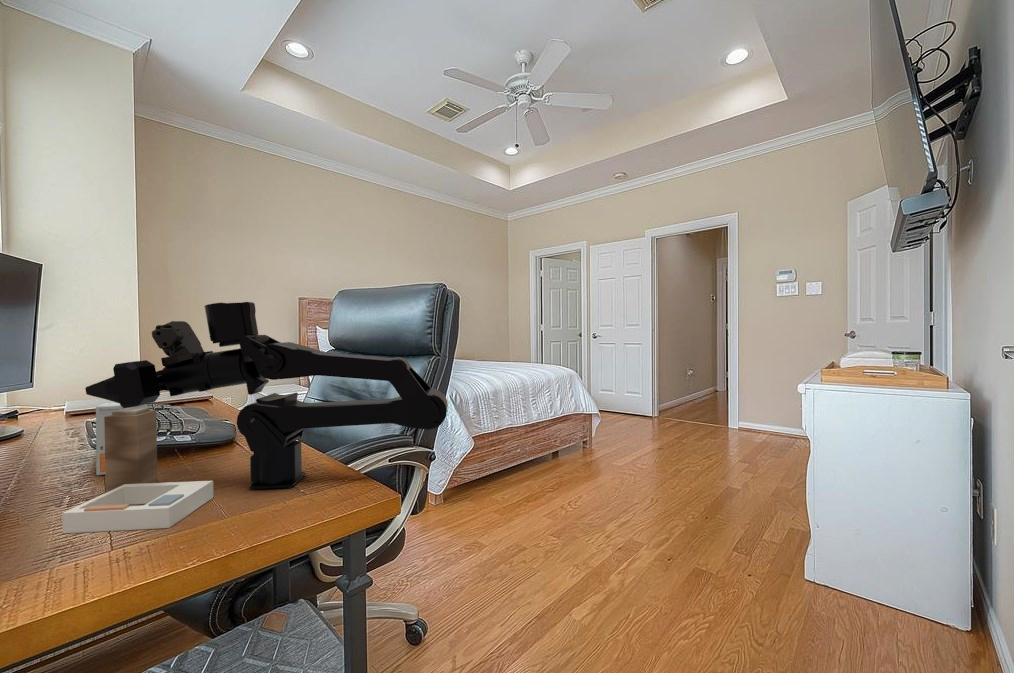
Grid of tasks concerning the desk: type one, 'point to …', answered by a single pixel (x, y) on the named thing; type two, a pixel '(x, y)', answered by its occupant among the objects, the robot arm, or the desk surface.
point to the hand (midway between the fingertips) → (111, 386)
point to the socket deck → (138, 507)
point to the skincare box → (100, 432)
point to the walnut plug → (130, 447)
